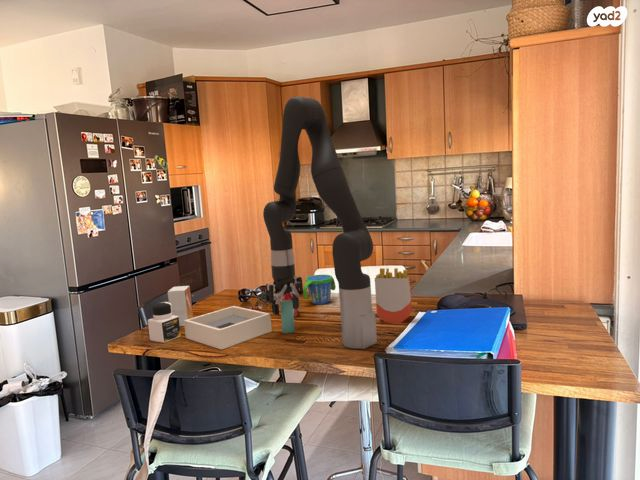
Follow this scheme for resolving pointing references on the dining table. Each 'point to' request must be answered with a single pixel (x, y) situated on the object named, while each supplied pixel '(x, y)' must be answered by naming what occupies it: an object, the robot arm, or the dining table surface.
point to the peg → (287, 316)
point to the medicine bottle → (163, 323)
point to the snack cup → (319, 288)
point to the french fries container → (393, 295)
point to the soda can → (289, 297)
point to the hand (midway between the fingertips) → (286, 311)
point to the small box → (181, 303)
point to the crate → (227, 326)
